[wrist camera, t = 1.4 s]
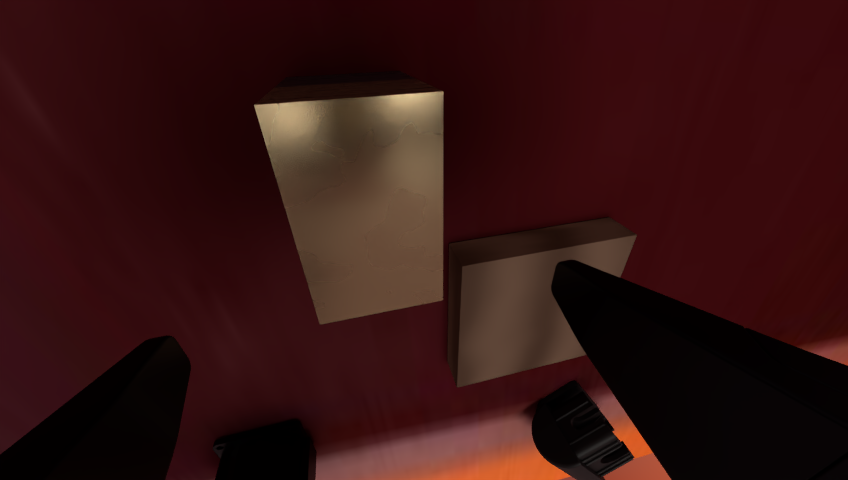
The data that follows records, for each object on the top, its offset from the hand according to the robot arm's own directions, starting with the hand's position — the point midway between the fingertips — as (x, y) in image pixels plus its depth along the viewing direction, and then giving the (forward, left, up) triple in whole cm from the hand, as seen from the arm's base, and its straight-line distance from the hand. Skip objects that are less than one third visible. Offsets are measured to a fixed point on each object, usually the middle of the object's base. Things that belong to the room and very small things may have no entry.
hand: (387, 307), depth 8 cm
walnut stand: (+11, -12, -11) cm, 19 cm away
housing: (0, 0, -11) cm, 11 cm away
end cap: (+19, -32, -11) cm, 39 cm away
